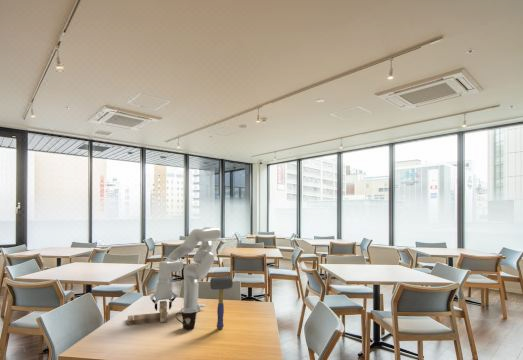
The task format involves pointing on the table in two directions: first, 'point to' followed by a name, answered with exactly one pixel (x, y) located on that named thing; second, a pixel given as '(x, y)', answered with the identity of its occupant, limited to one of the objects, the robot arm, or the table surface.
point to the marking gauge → (163, 311)
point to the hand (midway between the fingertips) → (163, 309)
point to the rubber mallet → (221, 294)
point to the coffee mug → (188, 318)
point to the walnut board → (144, 318)
